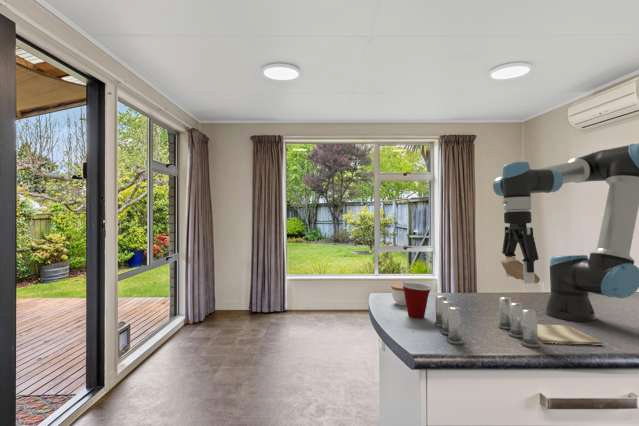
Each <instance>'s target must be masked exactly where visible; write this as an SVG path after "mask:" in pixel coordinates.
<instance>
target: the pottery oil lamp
mask: <svg viewBox="0 0 639 426" xmlns="http://www.w3.org/2000/svg"><path fill="white" fill-rule="evenodd" d="M500 262H501V265H502V267H503V268H504V270H505V274H506V273H507V274H509V275H511V276H510V277H513V278H515V279H516V280H522V281H524V272H523V262H521V261H520V260H517V259H516V258H515V259H514V260H513V259H512V258H507V257H506V256H505V259H501V260H500ZM534 277H535V283H534V284H538V283H540V280H541V278H540V276H538V274H536V273H535V272H534Z"/></svg>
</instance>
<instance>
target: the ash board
mask: <svg viewBox="0 0 639 426" xmlns="http://www.w3.org/2000/svg"><path fill="white" fill-rule="evenodd" d="M537 333H538V341H539V342H540V343H542V344H545V343H552V344H551V345H570V344H602V345H603V341H600V340H599V339H598V338H597V339H596V338H594V337H592V336H590V335H588V334H587V333H584V332H583V331H580V330H578V329H576V328H574V327H572V326H570V325H568V324H566V325H565V324H539V323H537ZM553 343H555V344H553ZM558 343H559V344H558Z"/></svg>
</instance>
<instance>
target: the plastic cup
mask: <svg viewBox="0 0 639 426" xmlns="http://www.w3.org/2000/svg"><path fill="white" fill-rule="evenodd" d="M401 284H402V286H403V289H404V294H405V301H406V311H407V316H408V318H411V319H415V320H422V319H425V315H426V310H427V304H428V299H429V296H430V292H431V290H432V286H430V285H425V284H421V283H416V282H415V283H414V282H405V283H403V282H402V283H401Z"/></svg>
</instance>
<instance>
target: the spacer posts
mask: <svg viewBox="0 0 639 426" xmlns="http://www.w3.org/2000/svg"><path fill="white" fill-rule="evenodd" d="M512 299H513V298H512V297H509V296H500V297H499V302H498V303H499V323H498V326H497V327H498V328H499V329H501V330H506V331H509V332H508V335H509V337H512V338H515V339H522V340H521V343H520V344H521V345H522V346H524V347H526V348H529V349H539V348H540V343H539V342H538V341H539V340H538V333H537V324H538V310H536V309H532V308H531V309H530V308H524V304H523V303H522V302H515V301H514V302H513V301H512ZM454 304H455V303H454V301H451V300H448V296H446V295H441V294H440V295H435V321H434V327H437V328H441V329H440V330H439V331H440V334H441V335H444V336H447V338H446V343H448V344H449V345H455V346H461V345H463V344H464V340H463V338H462V333H463V332H462V307H458V306H454Z"/></svg>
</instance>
